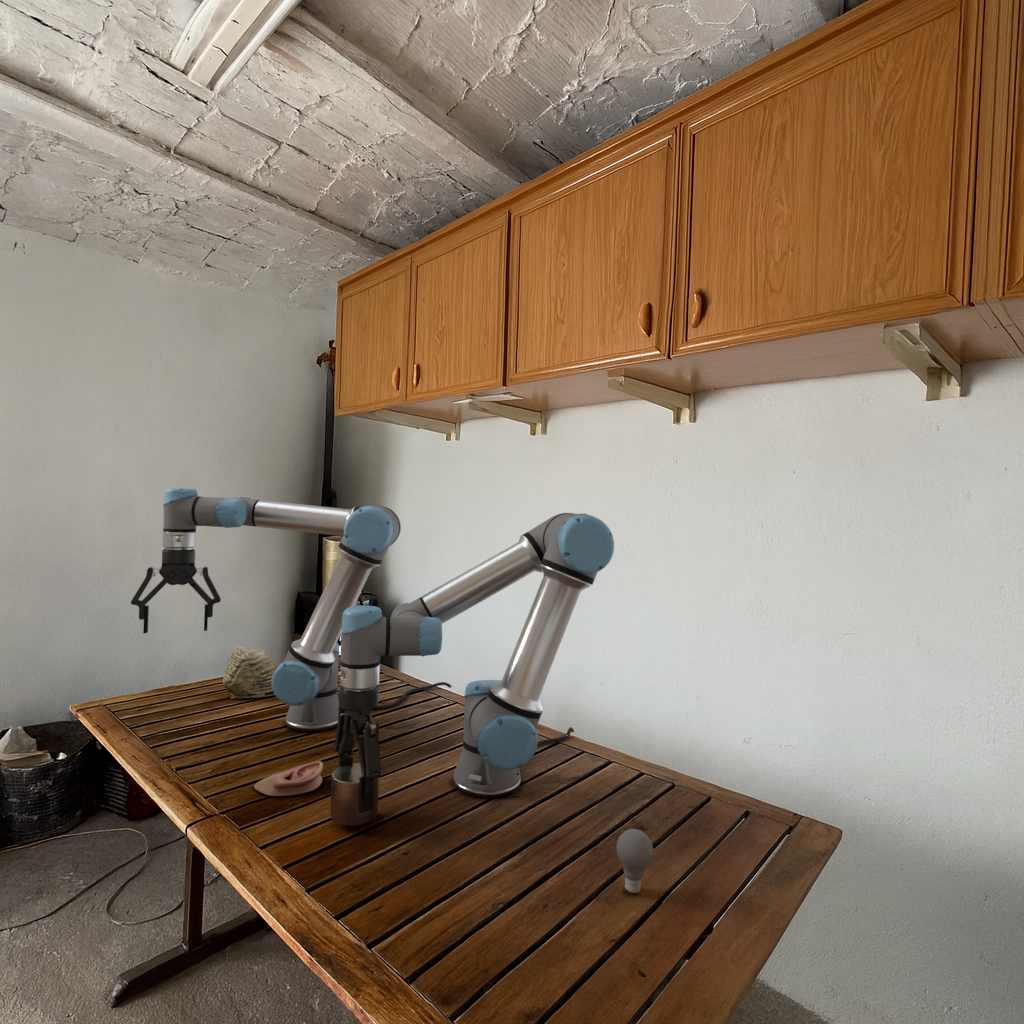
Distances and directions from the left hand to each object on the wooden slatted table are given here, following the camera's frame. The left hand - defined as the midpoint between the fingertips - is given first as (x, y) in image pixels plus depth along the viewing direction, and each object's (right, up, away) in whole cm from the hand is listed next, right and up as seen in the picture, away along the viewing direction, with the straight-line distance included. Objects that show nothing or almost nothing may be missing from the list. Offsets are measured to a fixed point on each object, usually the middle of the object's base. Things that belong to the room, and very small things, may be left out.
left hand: (176, 631), depth 162 cm
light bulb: (+106, -33, -56) cm, 125 cm away
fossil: (+5, -27, +36) cm, 45 cm away
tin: (+55, -29, -38) cm, 73 cm away
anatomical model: (+37, -29, -24) cm, 53 cm away
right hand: (+55, -26, -38) cm, 72 cm away
